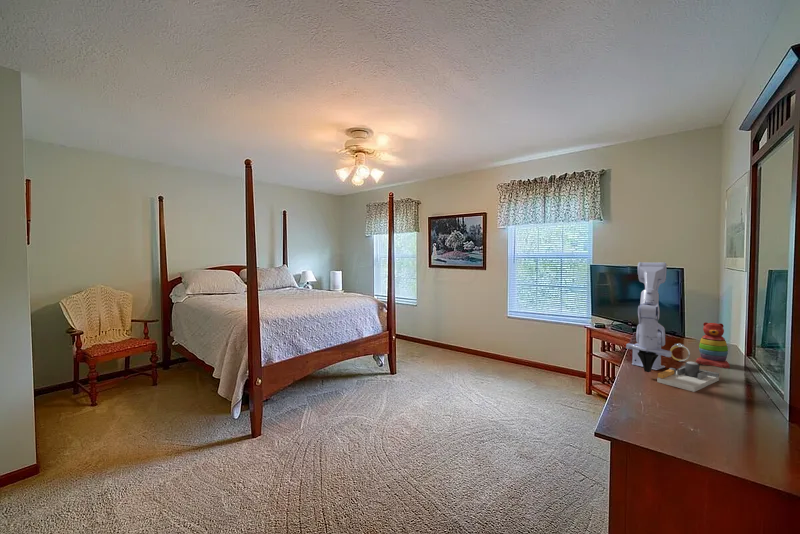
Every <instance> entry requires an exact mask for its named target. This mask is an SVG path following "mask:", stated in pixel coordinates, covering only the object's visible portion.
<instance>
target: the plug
mask: <svg viewBox="0 0 800 534" xmlns="http://www.w3.org/2000/svg"><path fill="white" fill-rule="evenodd" d="M684 366H685V375H686V376H689V377H695V378H697V377H698V373H699V369H700V364H698V363H696V361H686V362H684Z"/></svg>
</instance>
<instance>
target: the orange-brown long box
mask: <svg viewBox="0 0 800 534" xmlns="http://www.w3.org/2000/svg"><path fill="white" fill-rule="evenodd" d="M676 371H677V368H674V367H669V368H668V369H666V370H663V371H660V372H658V373H657V378H658V377H660V378H665V377H668V376H670V375H673V374H676Z"/></svg>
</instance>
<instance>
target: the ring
mask: <svg viewBox="0 0 800 534" xmlns="http://www.w3.org/2000/svg"><path fill="white" fill-rule="evenodd" d="M677 348H682V349H685V351H686V352H687V356H686V357H685V358H682V359H681V358H677V357H675V356H674V355H673V354H672V356H671V357H670V358H672V359H673V360H675V361H678V362H685V361H687V360H689V359H690V356H691V352H690V350H689V348H688V347H687V346H685V344H682V343H680V342H678V343H674V345H672V346H671V348H670V349H669V351H671V352H672V353H673V351H674V350H676V349H677Z"/></svg>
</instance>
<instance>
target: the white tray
mask: <svg viewBox="0 0 800 534" xmlns="http://www.w3.org/2000/svg"><path fill="white" fill-rule="evenodd" d="M656 380H657V381H656V383H658V384H659V383H660V384H663V385H665V386H666V385H667V386H671V387H674V388H676V389H677V388H679V389H683V390H685V391H689V392H693V393H695V392H697V391H699V390H702V389H704V388H706V387H709V386H710V385H712V384H714V383H716V382H719V381H720V372H716V371H711V370H707V369H703V368H699V373H698V377H697V378H695V377H689V376H686V375H685V364H683V365H680V367H679V368H676V374H673V375H670V376H668V377H665V378H660V377H658V376H657V378H656Z"/></svg>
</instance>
